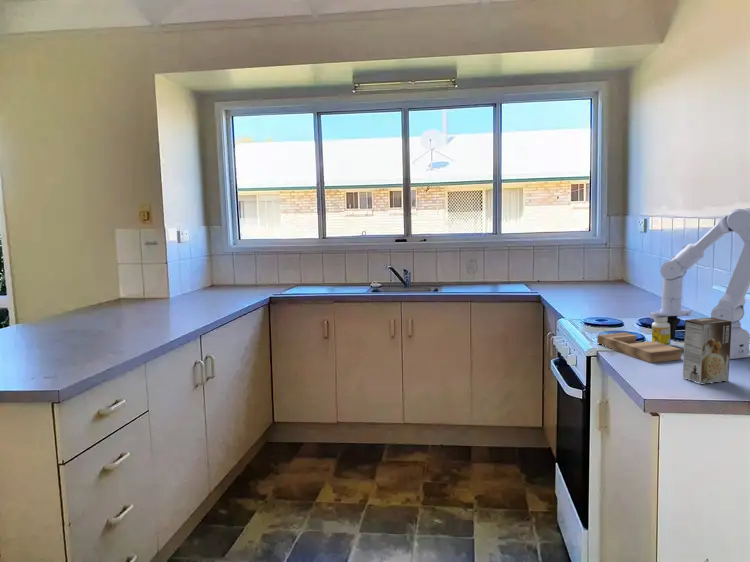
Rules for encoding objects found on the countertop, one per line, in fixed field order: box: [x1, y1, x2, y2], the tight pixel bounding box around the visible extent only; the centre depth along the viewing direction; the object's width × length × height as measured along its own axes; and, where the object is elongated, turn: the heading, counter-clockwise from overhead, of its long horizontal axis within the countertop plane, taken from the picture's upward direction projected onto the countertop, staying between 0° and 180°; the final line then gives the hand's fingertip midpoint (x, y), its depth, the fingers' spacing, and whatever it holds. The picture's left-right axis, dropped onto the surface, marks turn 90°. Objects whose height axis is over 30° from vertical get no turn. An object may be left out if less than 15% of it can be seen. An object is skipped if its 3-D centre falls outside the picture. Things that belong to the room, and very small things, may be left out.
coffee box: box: [682, 316, 732, 384], centre depth 154 cm, size 9×6×16 cm
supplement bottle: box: [651, 316, 671, 346], centre depth 191 cm, size 5×5×10 cm
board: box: [596, 331, 682, 364], centre depth 185 cm, size 24×11×3 cm, turn 17°
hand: (669, 339), depth 192 cm, fingers closed, pressing on supplement bottle
